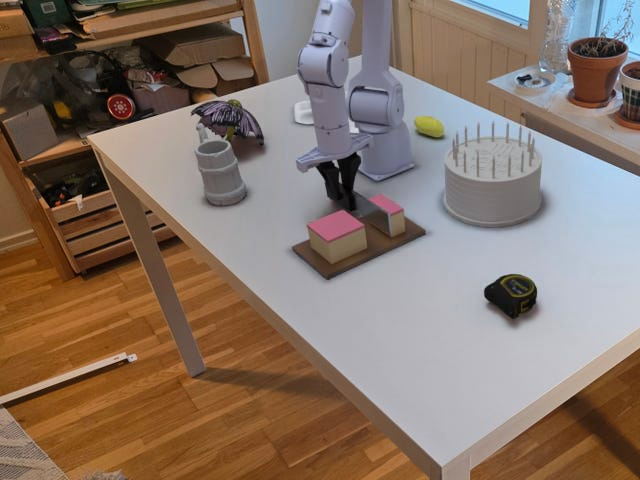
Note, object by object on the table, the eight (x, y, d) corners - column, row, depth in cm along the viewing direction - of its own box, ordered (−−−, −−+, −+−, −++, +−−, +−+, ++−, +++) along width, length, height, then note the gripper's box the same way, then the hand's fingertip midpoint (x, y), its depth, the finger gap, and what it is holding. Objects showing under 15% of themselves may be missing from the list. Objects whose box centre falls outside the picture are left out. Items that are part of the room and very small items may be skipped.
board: (388, 209, 118) (388, 205, 118) (425, 233, 112) (425, 229, 112) (292, 250, 109) (291, 246, 109) (327, 279, 103) (326, 275, 103)
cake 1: (346, 232, 112) (342, 209, 108) (367, 248, 108) (364, 224, 105) (311, 247, 108) (306, 224, 105) (331, 264, 105) (327, 240, 102)
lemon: (435, 142, 137) (434, 125, 135) (409, 132, 142) (408, 114, 139) (449, 136, 140) (448, 118, 137) (423, 125, 144) (422, 108, 141)
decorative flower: (277, 101, 131) (202, 96, 122) (280, 161, 135) (207, 161, 126) (251, 100, 142) (180, 96, 133) (254, 156, 146) (185, 155, 137)
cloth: (278, 113, 150) (272, 87, 146) (341, 90, 160) (338, 64, 155) (337, 142, 139) (332, 114, 134) (401, 115, 148) (399, 88, 144)
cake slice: (383, 216, 115) (381, 193, 112) (405, 231, 111) (403, 208, 108) (369, 222, 114) (366, 199, 111) (391, 237, 110) (389, 214, 107)
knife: (336, 193, 121) (332, 173, 118) (396, 232, 110) (393, 211, 107) (327, 196, 120) (323, 176, 117) (386, 236, 109) (383, 215, 106)
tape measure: (481, 302, 98) (481, 282, 95) (516, 286, 101) (518, 266, 98) (509, 326, 94) (510, 306, 91) (545, 308, 97) (547, 288, 94)
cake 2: (553, 187, 122) (560, 119, 113) (520, 236, 111) (525, 163, 102) (467, 170, 128) (466, 103, 119) (426, 214, 117) (423, 144, 107)
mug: (213, 211, 119) (194, 149, 111) (194, 185, 127) (175, 125, 118) (253, 198, 122) (237, 137, 114) (232, 174, 130) (216, 115, 121)
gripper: (354, 103, 113) (363, 174, 122) (280, 127, 107) (296, 200, 116) (377, 115, 109) (384, 188, 118) (302, 141, 103) (316, 216, 112)
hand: (342, 195), depth 117 cm, fingers closed on knife, 2 cm apart
